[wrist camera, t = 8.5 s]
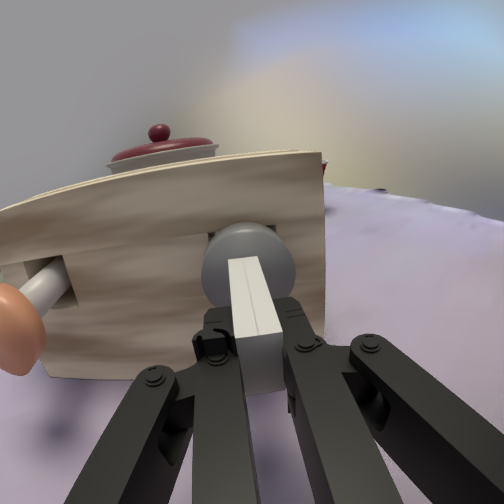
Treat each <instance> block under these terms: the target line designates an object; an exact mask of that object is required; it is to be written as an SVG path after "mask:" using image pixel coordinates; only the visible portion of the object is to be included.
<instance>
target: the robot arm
mask: <svg viewBox="0 0 504 504" xmlns="http://www.w3.org/2000/svg"><path fill="white" fill-rule="evenodd" d="M228 267H229V279H230V292H231V303H232V306H225V307H216V308H209V309H208V311H207V312H206V313H205V315H204V321H203V329H202V330H200V331H198V332H197V333H196V334H195V335H194V336H193V338H192V344H193V348H194V352H195V356H196V359H197V362H196V363H195V364H194V365H192V366H191V367H189V368H186V369H184V370H181V371H177V372H174V371H173V370H172V369H171V368H170V367H168V366H164V365H154V366H150V367H147V368H146V369H144V370H142V371H141V372H140V373H139V374H138V375H137V377H136V378H135V380H134V382H133V383H132V385H131V386H130V388H129V390H128V391H127V393H126V395H125V396H124V398H123V400H122V401H121V403H120V405H119V406H118V408H117V410H116V412H115V413H114V415H113V417H112V418H111V420H110V422H109V423H108V425H107V427H106V429H105V430H104V432H103V434H102V435H101V437H100V439H99V441H98V442H97V444H96V446H95V448H94V449H93V451H92V453H91V455H90V456H89V458H88V460H87V462H86V464H85V465H84V467H83V469H82V471H81V473H80V474H79V476H78V478H77V480H76V482H75V483H74V485H73V487H72V489H71V491H70V493H69V495H68V496H67V498H66V500H65V502H64V504H168V503H169V500H170V497H171V494H172V491H173V488H174V485H175V483H176V480H177V477H178V474H179V471H180V468H181V465H182V462H183V460H184V457H185V454H186V451H187V448H188V445H189V442H190V439H191V436H192V434H193V461H192V504H261V501H260V495H259V488H258V482H257V475H256V468H255V461H254V454H253V447H252V440H251V433H250V426H249V418H248V411H247V404H246V399H245V396H248V395H256V394H263V393H270V392H276V391H282V390H285V385H286V388H287V392H288V413H291V415H292V418H293V422H294V426H295V430H296V433H297V437H298V441H299V445H300V448H301V452H302V456H303V459H304V463H305V467H306V471H307V474H308V478H309V482H310V485H311V489H312V493H313V496H314V500H315V504H404V503H403V501H402V499H401V497H400V495H399V492H398V490H397V488H396V486H395V484H394V481H393V479H392V477H391V475H390V473H389V471H388V468H387V466H386V464H385V462H384V460H383V458H382V456H381V453H380V451H379V449H378V447H377V445H376V443H375V441H374V439H375V440H376V442H377V443H378V444H379V445H380V446H381V447H382V448H383V450H384V451H385V452H386V453H387V454H388V455H389V456H390V457H391V459H392V460H393V461H394V462H395V463H396V464H397V465H398V466H399V467H400V469H401V470H402V471H403V472H404V473H405V474H406V475H407V476H408V477H409V479H410V480H411V481H412V482H413V483H414V484H415V485H416V486H417V487H418V488H419V489H420V491H421V492H422V493H423V494H424V495H425V496H426V497H427V498H428V499H429V500H430V501H431V502H432V504H504V434H502V433H501V432H500V431H499V430H498V429H496V428H495V427H494V426H493V425H492V424H490V423H489V422H488V421H487V420H486V419H484V418H483V417H482V416H481V415H480V414H478V413H477V412H476V411H475V410H473V409H472V408H471V407H470V406H469V405H467V404H466V403H465V402H464V401H462V400H461V399H460V398H459V397H458V396H456V395H455V394H454V393H453V392H451V391H450V390H449V389H448V388H446V387H445V386H444V385H443V384H442V383H440V382H439V381H438V380H437V379H435V378H434V377H433V376H432V375H430V374H429V373H428V372H427V371H425V370H424V369H423V368H422V367H420V366H419V365H418V364H417V363H415V362H414V361H413V360H412V359H410V358H409V357H408V356H407V355H405V354H404V353H403V352H402V351H400V350H399V349H398V348H397V347H395V346H394V345H393V344H392V343H390V342H389V341H388V340H386V339H385V338H383V337H382V336H380V335H376V334H363V335H359V336H357V337H356V338H354V339H353V340H352V342H351V345H350V346H333V345H329V344H327V343H326V342H325V340H324V339H323V338H322V337H320V336H318V335H315V333H314V331H313V329H312V327H311V325H310V323H309V320H308V318H307V316H306V315H305V312H304V310H303V308H302V306H301V304H300V302H299V301H297V300H296V299H295V298H293V297H292V296H291V297H285V298H278V299H272V298H271V295H270V292H269V289H268V287H267V284H266V281H265V278H264V275H263V272H262V269H261V266H260V263H259V260H258V257H257V256H252V257H245V258H237V259H229V260H228ZM373 438H374V439H373Z"/></svg>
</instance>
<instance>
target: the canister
mask: <svg viewBox="0 0 504 504" xmlns="http://www.w3.org/2000/svg"><path fill="white" fill-rule="evenodd" d="M148 136H149V138H150V140H151V141H152V142H153V143H150V144H146V145H141V146H138V147H134V148H130V149H127V150H125V151H122V152H120V153H118V154H116V155H115V156H114V157H113V158H112V160H111V163H108V164H106V166H107V167H108V168H110V169H111V172H112V175H114V174H119V173H123V172H128V171H133V170H138V169H143V168H148V167H153V166H159V165H164V164H170V163H176V162H182V161H189V160H195V159H202V158H209V157H215V150H216V148H218V146H219V144H213V143H212V141H211V140H209V139H206V138H182V139H173V140H168V138H169V136H170V128H169V127H168V126H167V125H165V124H158V125H154V126H152V127H151V128H150V130H149V132H148Z"/></svg>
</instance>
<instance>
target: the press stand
mask: <svg viewBox="0 0 504 504" xmlns="http://www.w3.org/2000/svg"><path fill="white" fill-rule="evenodd" d="M240 222H254V223H259V224H262V225H265V226H267V227H269V228H270V229H272V230H273V231H274V232H275V233H277V234H278V235H279V237H280V238H281V239H282V241H283V242H284V244H285V246H286V247H287V249H288V251H289V252H290V254H291V256H292V258H293V260H294V264H295V269H296V278H295V283H294V287H293V289H292V291H291V293H290V295H289V297H291V296H292V297H293V298H295V299H296V300H297V301H299V302H300V304H301V306H302V308H303V310H304V312H305V315H306V316H307V318H308V320H309V323H310V325H311V327H312V329H313V331H314V333H315V335H318V336H320V337H322V338H323V339H324V324H325V272H326V263H325V211H324V187H323V170H322V155H321V152H313V151H299V150H274V151H263V152H252V153H242V154H233V155H225V156H217V157H209V158H202V159H195V160H189V161H182V162H176V163H170V164H164V165H159V166H153V167H148V168H143V169H138V170H133V171H128V172H123V173H119V174H114V175H110V176H106V177H101V178H97V179H93V180H89V181H85V182H81V183H77V184H73V185H69V186H66V187H62V188H59V189H55V190H52V191H48V192H45V193H42V194H40V195H37V196H34V197H31V198H29V199H26V200H24V201H21V202H19V203H16V204H13V205H11V206H8V207H6V208H4V209H1V210H0V270H1V273H2V276H3V279H4V281H5V283H6V284H9V285H11V286H13V287H15V288H16V289H18V290H19V289H20V288H21V287H22V286H23V285H25V284H26V283H27V282H28V281H29V280H30V279H31V278H33V277H34V276H35V275H36V274H37V273H38V272H40V271H41V270H42V269H43V268H44V267H46V266H47V265H48V264H49V263H50V262H52V261H53V260H54V259H55V258H57V257H58V256H59V255H62V256H63V259H64V262H65V266H66V269H67V272H68V275H69V278H70V281H71V284H72V285H71V286H70V287H69V288H68V289H67V290H66V291H65V292H64V294H63V295H62V296H61V297H60V298H59V299H58V300H57V301H56V303H55V304H54V305H53V306H52V307H51V308H50V309H49V311H48V312H47V313H46V314H45V315H44V317H43V318H42V319H41V320H42V322H43V324H44V327H45V331H46V337H47V342H46V347H45V349H44V351H43V352H42V354H41V355H40V356H39V359H40V361H41V362H42V364H43V366H44V368H45V369H46V371H47V373H48V374H49V376H50V377H60V378H76V379H100V380H135V378H136V377H137V375H138V374H139V373H140V372H141V371H142V370H144V369H146V368H147V367H150V366H154V365H164V366H168V367H170V368H171V369H172V370H173V371H174V372H177V371H181V370H184V369H186V368H189V367H191V366H192V365H194V364H195V363H196V362H197V359H196V356H195V352H194V348H193V344H192V338H193V336H194V335H195V334H196V333H197V332H198V331H200V330H202V329H203V321H204V315H205V313H206V312H207V311H208V309H209V308H216V307H215V306H214V305H213V304H212V303H211V302H210V301H209V300H208V298H207V296H206V295H205V293H204V290H203V287H202V282H201V271H202V264H203V258H204V253H205V250H206V247H207V245H208V243H209V242H210V240H211V239H212V238H213V237H214V235H215V234H217V232H218V231H220V230H222V229H223V228H225V227H227V226H229V225H232V224H235V223H240Z"/></svg>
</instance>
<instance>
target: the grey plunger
mask: <svg viewBox="0 0 504 504" xmlns="http://www.w3.org/2000/svg"><path fill="white" fill-rule="evenodd" d="M252 256H257V257H258V260H259V263H260V266H261V269H262V272H263V275H264V278H265V281H266V284H267V287H268V289H269V292H270V295H271V298H272V299H278V298H285V297H289V295H290V293H291V291H292V289H293V287H294V283H295V278H296V269H295V264H294V260H293V258H292V256H291V254H290V252H289V251H288V249H287V247H286V246H285V244H284V242H283V241H282V239H281V238H280V237H279V235H278V234H277V233H275V232H274V231H273V230H272V229H270V228H269V227H267V226H265V225H262V224H259V223H254V222H240V223H235V224H232V225H229V226H227V227H225V228H223V229H222V230H220V231H219V232H218V233H217V234H215V235H214V237H213V238H212V239H211V240H210V242H209V243H208V245H207V247H206V250H205V253H204V258H203V264H202V271H201V282H202V287H203V290H204V293H205V295H206V296H207V298H208V300H209V301H210V302H211V303H212V304H213V305H214V306H215V307H225V306H232V303H231V292H230V279H229V267H228V260H229V259H237V258H245V257H252Z"/></svg>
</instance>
